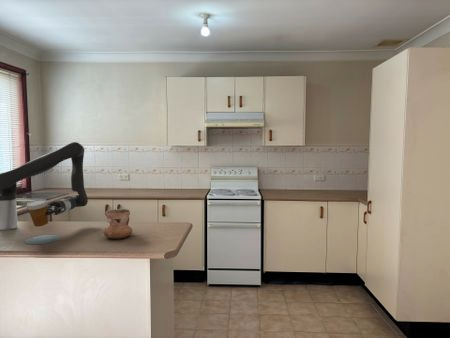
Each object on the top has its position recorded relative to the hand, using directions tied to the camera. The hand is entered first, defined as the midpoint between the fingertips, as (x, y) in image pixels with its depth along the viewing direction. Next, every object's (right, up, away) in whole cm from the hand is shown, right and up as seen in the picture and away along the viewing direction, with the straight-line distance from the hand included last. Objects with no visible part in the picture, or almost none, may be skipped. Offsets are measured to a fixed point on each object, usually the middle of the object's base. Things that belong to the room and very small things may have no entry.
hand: (39, 213), depth 167 cm
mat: (0, -14, +3) cm, 15 cm away
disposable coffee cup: (0, -6, +2) cm, 6 cm away
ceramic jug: (+38, -14, +8) cm, 42 cm away
